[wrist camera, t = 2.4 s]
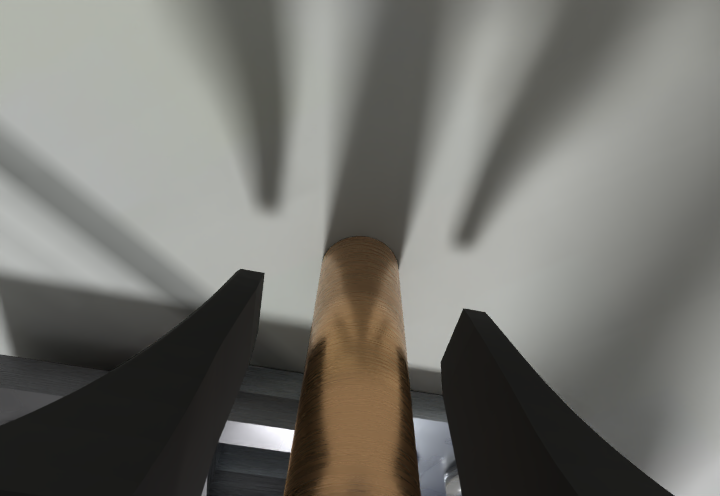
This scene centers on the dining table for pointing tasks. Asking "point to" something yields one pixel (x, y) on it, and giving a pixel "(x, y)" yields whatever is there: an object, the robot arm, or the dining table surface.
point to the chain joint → (242, 426)
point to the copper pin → (355, 382)
